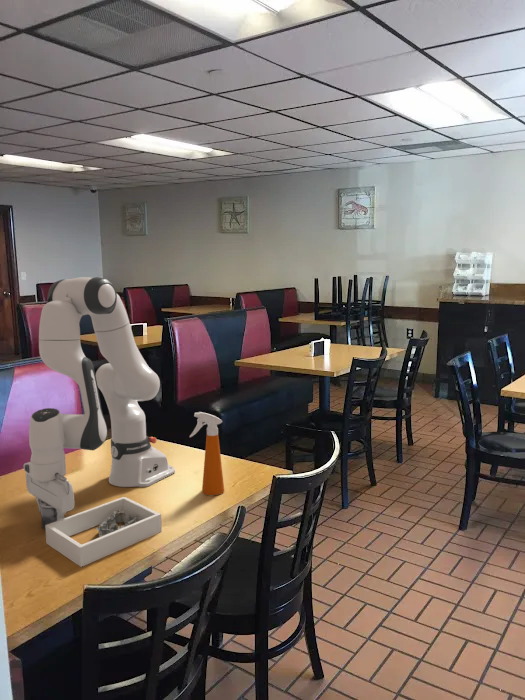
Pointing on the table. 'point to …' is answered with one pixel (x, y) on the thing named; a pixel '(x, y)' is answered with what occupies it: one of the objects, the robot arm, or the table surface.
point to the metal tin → (47, 514)
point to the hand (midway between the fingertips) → (51, 516)
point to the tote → (108, 543)
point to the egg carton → (115, 522)
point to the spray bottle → (211, 454)
